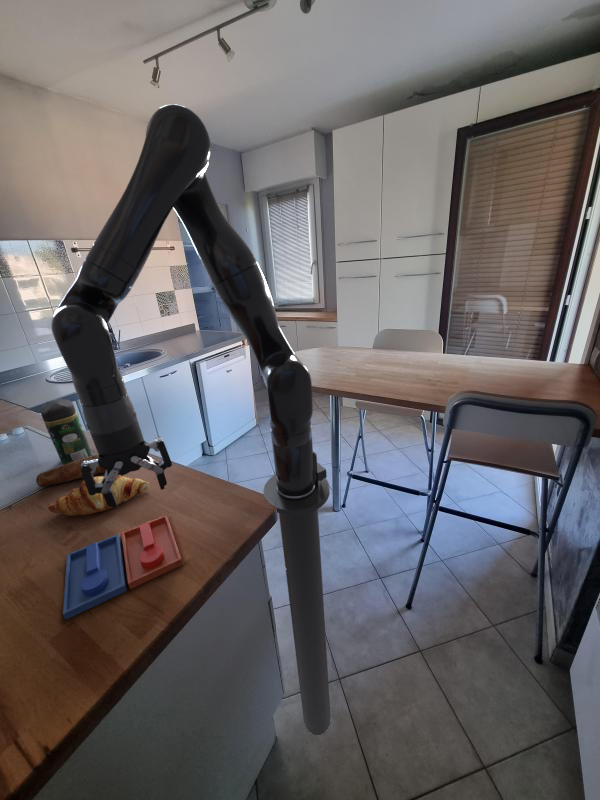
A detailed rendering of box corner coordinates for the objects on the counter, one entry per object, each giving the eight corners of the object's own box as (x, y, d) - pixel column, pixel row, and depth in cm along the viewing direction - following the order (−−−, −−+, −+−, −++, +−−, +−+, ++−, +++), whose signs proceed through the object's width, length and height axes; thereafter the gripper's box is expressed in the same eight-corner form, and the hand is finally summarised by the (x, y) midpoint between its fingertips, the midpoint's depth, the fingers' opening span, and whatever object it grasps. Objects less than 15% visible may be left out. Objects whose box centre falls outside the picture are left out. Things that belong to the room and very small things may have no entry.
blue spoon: (83, 557, 64) (79, 548, 63) (106, 547, 66) (103, 539, 65) (82, 600, 56) (78, 591, 55) (109, 588, 57) (105, 579, 57)
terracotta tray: (168, 519, 73) (166, 514, 72) (182, 564, 62) (181, 558, 61) (123, 537, 69) (121, 532, 68) (130, 589, 57) (127, 583, 57)
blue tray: (120, 538, 68) (118, 533, 68) (127, 590, 57) (124, 585, 57) (69, 559, 64) (66, 554, 64) (65, 619, 53) (62, 614, 53)
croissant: (153, 494, 87) (147, 463, 87) (149, 499, 77) (143, 465, 78) (58, 519, 79) (52, 486, 80) (41, 529, 70) (34, 492, 70)
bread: (118, 472, 91) (112, 455, 89) (36, 493, 85) (28, 475, 83) (120, 461, 96) (115, 444, 94) (43, 479, 90) (36, 462, 88)
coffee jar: (60, 457, 101) (36, 401, 93) (89, 448, 105) (69, 393, 98) (63, 471, 93) (38, 412, 86) (95, 460, 98) (73, 402, 90)
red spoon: (136, 535, 69) (133, 527, 68) (156, 527, 70) (154, 518, 69) (143, 572, 60) (140, 564, 59) (166, 562, 62) (163, 553, 61)
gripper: (152, 403, 64) (172, 473, 70) (66, 427, 58) (97, 501, 64) (159, 416, 58) (181, 491, 65) (64, 444, 52) (98, 524, 58)
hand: (139, 496), depth 64 cm, fingers open, 8 cm apart
